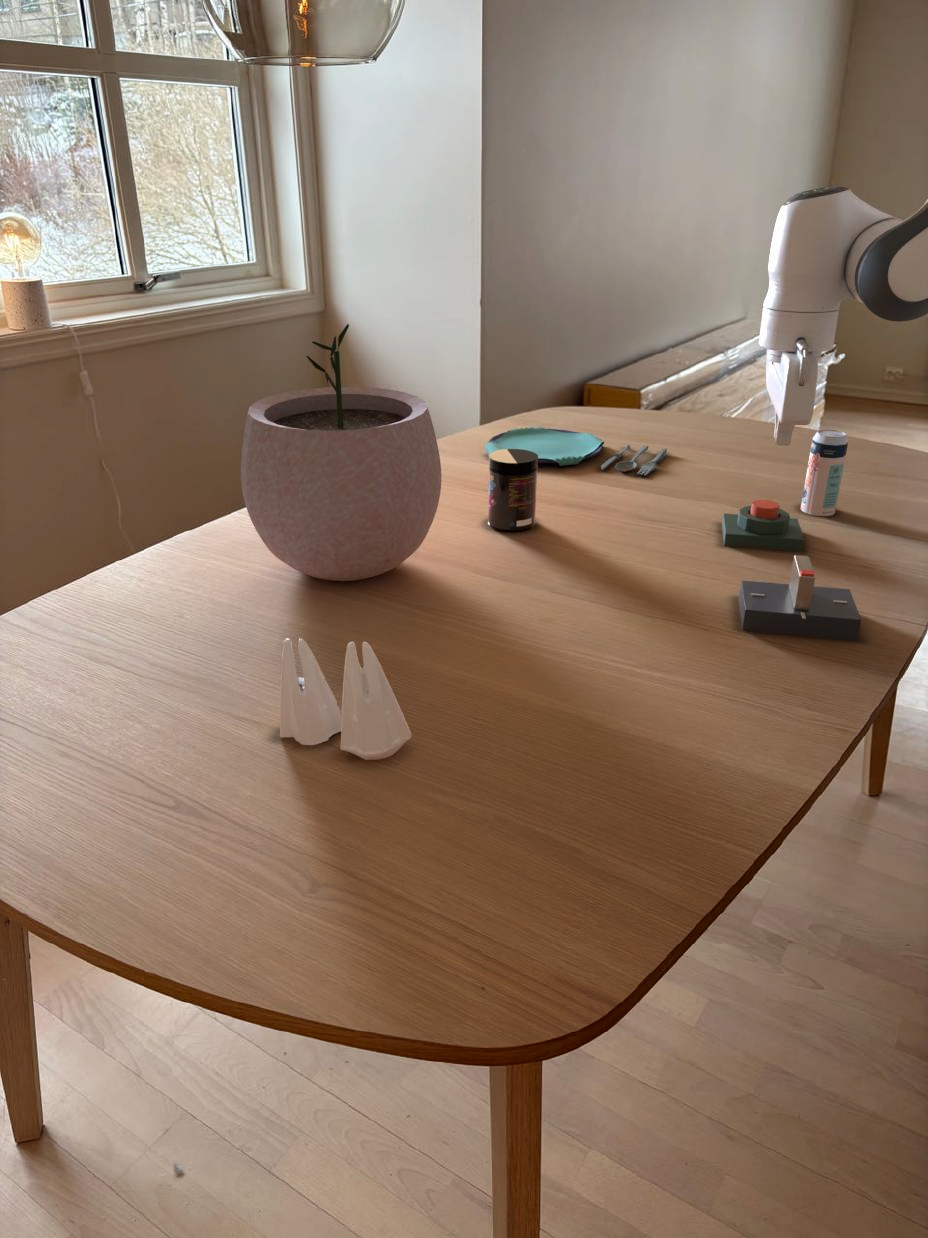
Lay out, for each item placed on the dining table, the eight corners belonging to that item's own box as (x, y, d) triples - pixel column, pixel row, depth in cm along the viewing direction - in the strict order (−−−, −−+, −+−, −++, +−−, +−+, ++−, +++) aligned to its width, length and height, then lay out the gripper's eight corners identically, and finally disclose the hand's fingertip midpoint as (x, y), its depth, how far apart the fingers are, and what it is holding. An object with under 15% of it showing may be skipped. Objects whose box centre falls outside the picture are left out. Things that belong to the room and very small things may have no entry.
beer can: (806, 505, 142) (819, 426, 137) (838, 512, 140) (853, 432, 135) (795, 514, 139) (809, 434, 134) (828, 521, 136) (844, 439, 131)
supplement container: (514, 515, 138) (516, 445, 134) (545, 529, 133) (548, 457, 129) (477, 525, 134) (478, 454, 130) (508, 540, 130) (510, 466, 125)
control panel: (843, 608, 111) (848, 583, 109) (857, 649, 102) (863, 622, 100) (737, 599, 113) (740, 575, 111) (742, 638, 104) (746, 612, 103)
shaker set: (415, 752, 84) (412, 641, 79) (391, 777, 81) (387, 663, 76) (303, 719, 89) (294, 613, 84) (276, 741, 86) (265, 632, 81)
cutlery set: (514, 433, 178) (515, 421, 177) (672, 454, 166) (674, 441, 165) (468, 461, 162) (468, 448, 161) (639, 487, 150) (641, 473, 149)
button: (776, 512, 129) (778, 500, 128) (778, 521, 126) (780, 509, 125) (749, 510, 130) (750, 498, 129) (750, 519, 127) (752, 507, 126)
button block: (795, 533, 132) (799, 506, 130) (801, 555, 125) (806, 526, 123) (721, 527, 134) (724, 501, 132) (723, 549, 127) (727, 520, 125)
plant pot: (329, 523, 135) (315, 303, 122) (476, 556, 124) (478, 319, 111) (210, 583, 116) (178, 331, 103) (370, 628, 106) (358, 353, 92)
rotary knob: (788, 587, 109) (794, 552, 107) (803, 588, 108) (809, 553, 107) (794, 609, 103) (800, 573, 102) (809, 610, 103) (815, 575, 101)
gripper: (837, 347, 107) (818, 466, 113) (813, 320, 125) (798, 424, 131) (778, 346, 108) (762, 464, 114) (763, 319, 126) (750, 422, 132)
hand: (781, 442), depth 123 cm, fingers closed
